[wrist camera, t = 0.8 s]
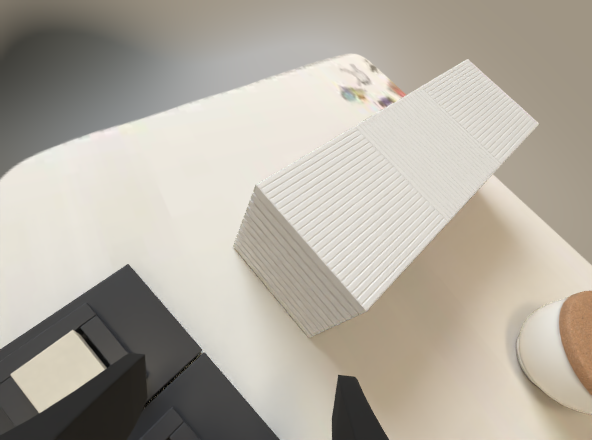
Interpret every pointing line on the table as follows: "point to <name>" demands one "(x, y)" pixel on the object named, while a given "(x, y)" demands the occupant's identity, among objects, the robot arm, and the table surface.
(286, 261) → the stack of papers
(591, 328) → the trinket box
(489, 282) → the table surface
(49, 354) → the white key
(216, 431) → the keypad
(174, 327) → the keypad
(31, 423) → the robot arm
